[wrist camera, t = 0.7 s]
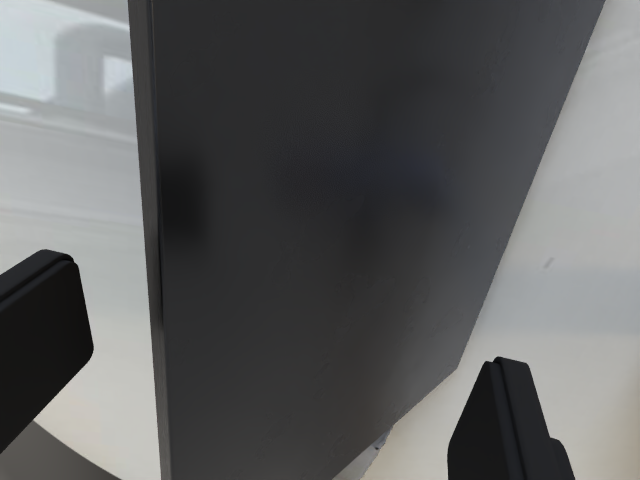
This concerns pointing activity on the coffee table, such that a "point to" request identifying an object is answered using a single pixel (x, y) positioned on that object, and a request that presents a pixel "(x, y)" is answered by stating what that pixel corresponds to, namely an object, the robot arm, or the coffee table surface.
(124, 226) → the coffee table surface
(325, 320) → the screen
